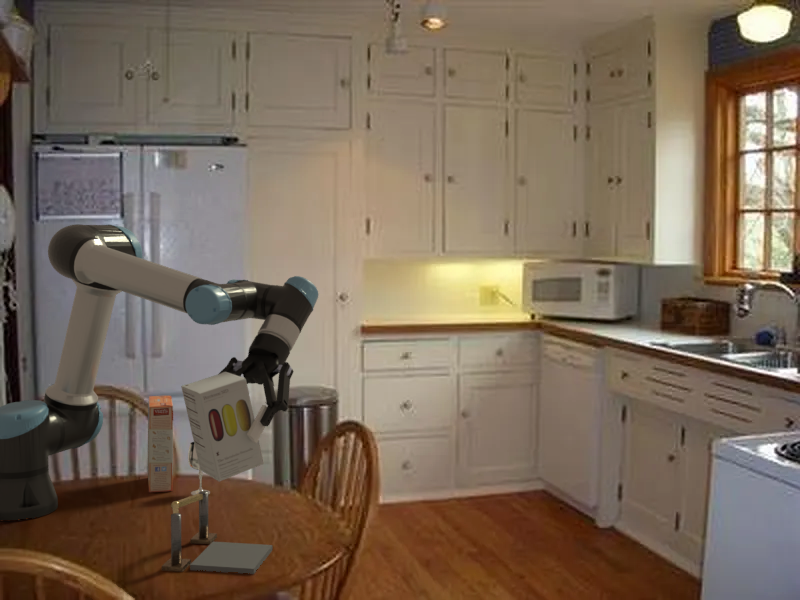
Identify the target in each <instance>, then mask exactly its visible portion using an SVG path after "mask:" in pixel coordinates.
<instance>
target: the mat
mask: <svg viewBox="0 0 800 600" xmlns="http://www.w3.org/2000/svg"><path fill="white" fill-rule="evenodd" d="M272 551H273V544H261V543H260V544H259V543H246V542H245V543H241V542H228V541H227V542H225V541H213V542H212V543H211V544H208V546H207V547H206V548H205V549H204V550H203V551H202V552H201V553H200V554H199V555H198V556H197V557H196V558H195V559H194V560H193V561H191V564H190V565H189V571H197V570H198V571H199V572H213V571H216V573H228V572H238V573H237V574H243V573H248V574H247V575H255V573H256V572H257V571H258V570H257V569H260V567H261V566H262V565H263V563H264V562H263V561H266V559H267V558H268V557H269V555H270V554H271V553H272ZM260 565H261V566H260ZM200 570H201V571H200ZM202 570H203V571H202ZM205 570H206V571H205ZM256 570H257V571H256ZM198 571H197V572H198ZM220 571H221V572H220ZM249 573H250V574H249Z"/></svg>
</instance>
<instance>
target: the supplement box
mask: <svg viewBox="0 0 800 600" xmlns="http://www.w3.org/2000/svg"><path fill="white" fill-rule="evenodd" d="M181 392H182V396H183V401H184V405H185V408H186V413H187V418H188V422H189V427H190V431H191V435H192V436H191V437H192V439H193V440H192V441H193V442H194V444H195V449H196V453H197V458H198V462H199V467H200V470H201V471H202V473H203V474H204V473H205V474H206V475H208V476H209V477H210V478H213V479H214V480H216V481H217V482H219V483H220V482H221V481H224V480H227V479H229V478H232V477H234V476H236V475H240V474H241V473H245V472H246V471H249V470H250V471H251V470H252V469H254V468H257V467H259V466H261V465H264V463H265V461H264V457H263V453H262V449H261V443H260V440H258V442H257V443H253V442H252V441H251V439H250V438H249V437H248V436H247V433H248V431H249V430H250V428H251V426H252V424H253V422H254V420H255V416H254V410H253V407H252V400H251V397H250V392H249V388H248V384H247V382H246V379H245V378H244V376H241V377H240V376H237V375H234V374H231V373H228V372H223V373H221V374H219V373H218V374H216V375H212V376H208V377H205V378H202V379H199V380H196V381H193V382H191V383H187V384H184V385H183V384H182V385H181Z"/></svg>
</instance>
